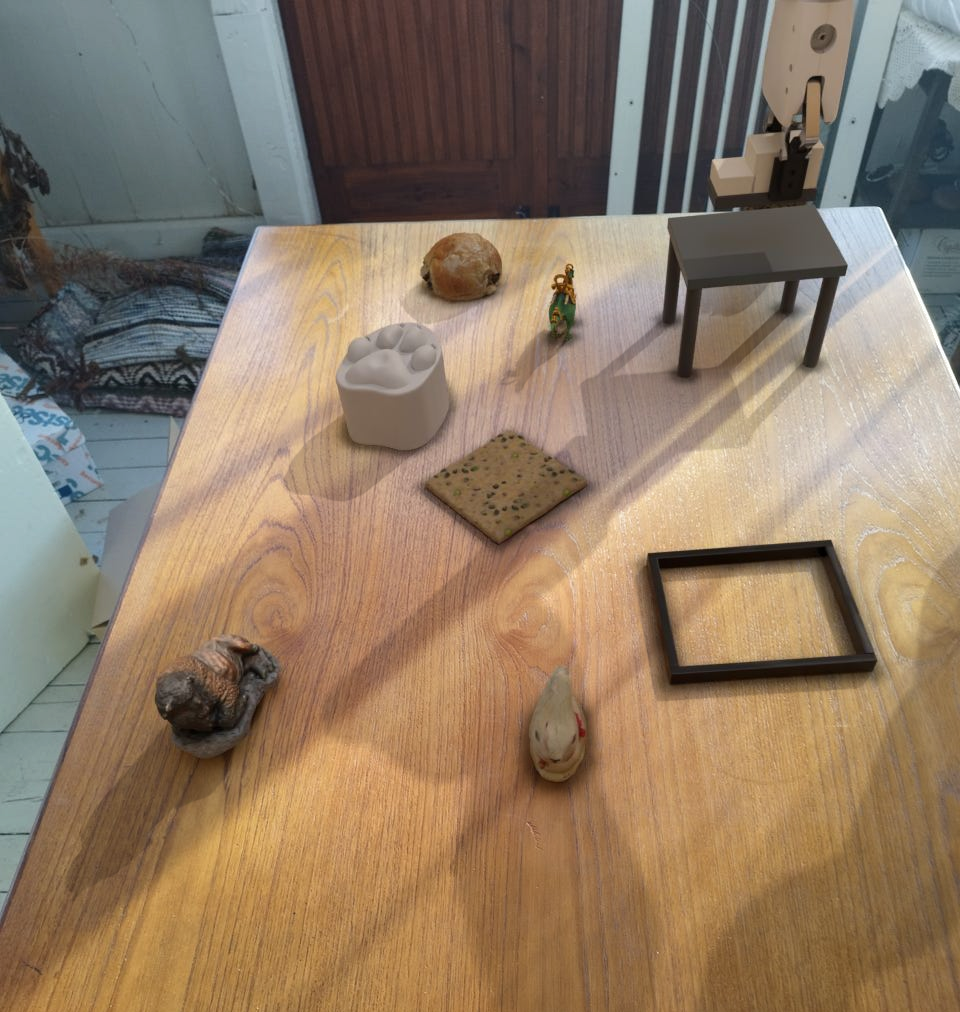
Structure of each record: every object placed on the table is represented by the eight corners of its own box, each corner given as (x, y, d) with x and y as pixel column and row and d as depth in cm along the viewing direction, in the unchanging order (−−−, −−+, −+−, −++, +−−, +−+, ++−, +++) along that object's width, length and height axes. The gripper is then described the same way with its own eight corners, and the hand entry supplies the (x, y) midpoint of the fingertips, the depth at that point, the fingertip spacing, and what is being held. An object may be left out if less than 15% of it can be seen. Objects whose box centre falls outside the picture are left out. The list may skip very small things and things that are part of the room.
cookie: (422, 486, 90) (421, 479, 89) (510, 432, 94) (510, 425, 93) (498, 545, 84) (497, 538, 83) (588, 485, 88) (588, 477, 87)
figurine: (583, 309, 108) (584, 245, 101) (565, 366, 101) (565, 301, 94) (559, 307, 108) (558, 244, 102) (539, 364, 101) (537, 299, 95)
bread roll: (473, 332, 113) (494, 283, 106) (404, 291, 112) (420, 239, 106) (500, 291, 118) (521, 242, 112) (434, 253, 118) (452, 201, 111)
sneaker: (803, 180, 89) (814, 128, 85) (815, 201, 87) (827, 147, 83) (705, 189, 90) (712, 137, 86) (714, 209, 87) (721, 157, 83)
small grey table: (792, 304, 105) (814, 204, 95) (821, 367, 97) (848, 265, 87) (659, 315, 106) (668, 217, 96) (676, 379, 98) (688, 279, 88)
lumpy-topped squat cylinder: (337, 440, 96) (320, 373, 89) (381, 371, 103) (368, 304, 96) (425, 454, 93) (414, 385, 86) (464, 382, 101) (456, 313, 94)
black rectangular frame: (827, 550, 80) (831, 539, 79) (873, 671, 71) (878, 660, 70) (646, 563, 81) (647, 552, 80) (669, 684, 72) (671, 674, 71)
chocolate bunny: (502, 766, 69) (494, 694, 61) (553, 695, 73) (551, 619, 65) (563, 798, 67) (562, 728, 59) (612, 724, 70) (617, 649, 63)
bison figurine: (224, 654, 78) (185, 579, 70) (297, 663, 77) (267, 587, 69) (169, 769, 71) (119, 700, 63) (249, 781, 70) (208, 712, 62)
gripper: (896, -7, 68) (838, 224, 82) (836, -68, 78) (794, 147, 93) (799, 2, 68) (758, 231, 83) (752, -59, 79) (723, 153, 93)
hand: (777, 184), depth 87 cm, fingers closed on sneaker, 4 cm apart
